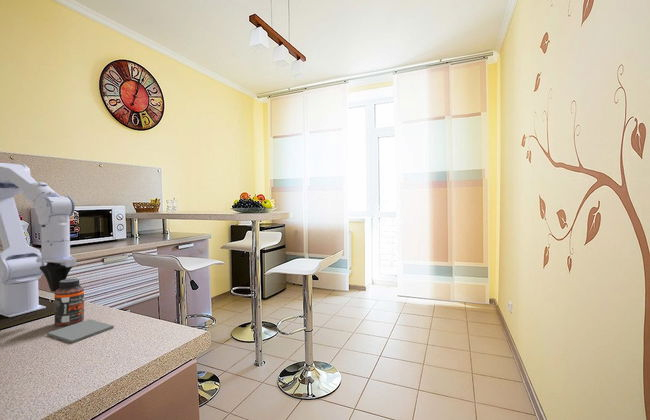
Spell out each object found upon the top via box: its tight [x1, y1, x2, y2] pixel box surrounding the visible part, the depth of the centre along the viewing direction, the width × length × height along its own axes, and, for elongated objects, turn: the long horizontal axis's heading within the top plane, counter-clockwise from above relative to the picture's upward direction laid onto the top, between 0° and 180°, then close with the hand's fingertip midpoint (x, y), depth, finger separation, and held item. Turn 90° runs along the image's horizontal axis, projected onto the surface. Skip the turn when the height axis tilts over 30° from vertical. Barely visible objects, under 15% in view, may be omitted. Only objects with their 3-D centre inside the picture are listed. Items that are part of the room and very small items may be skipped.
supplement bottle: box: [54, 278, 85, 327], centre depth 79 cm, size 6×6×11 cm
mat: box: [47, 319, 115, 344], centre depth 73 cm, size 10×9×1 cm
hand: (56, 290), depth 81 cm, fingers closed
